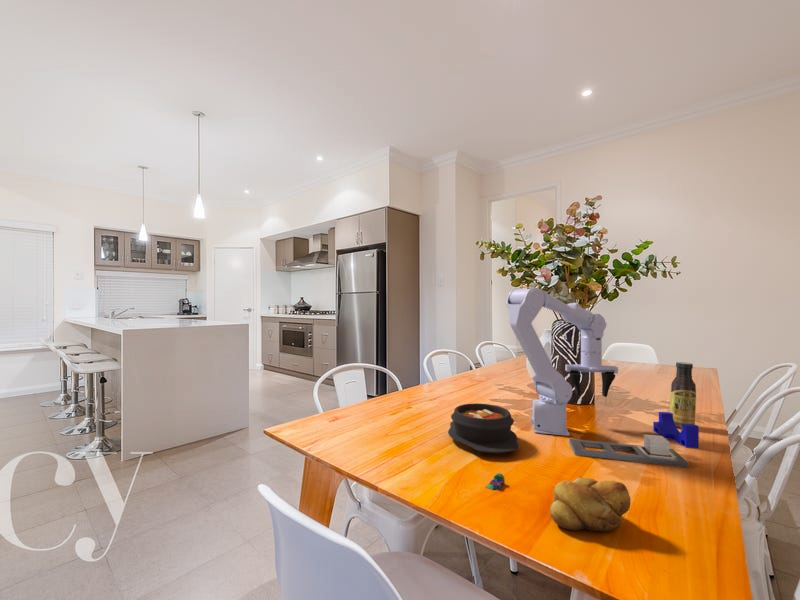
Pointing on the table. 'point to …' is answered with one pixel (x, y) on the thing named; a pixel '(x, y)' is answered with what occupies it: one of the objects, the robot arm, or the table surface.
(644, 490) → the table surface
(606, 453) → the grey slotted tray
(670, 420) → the cable clip
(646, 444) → the pale grey upright block
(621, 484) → the bread roll
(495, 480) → the green purple lumpy wedge
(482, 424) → the casserole
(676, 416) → the sauce bottle
